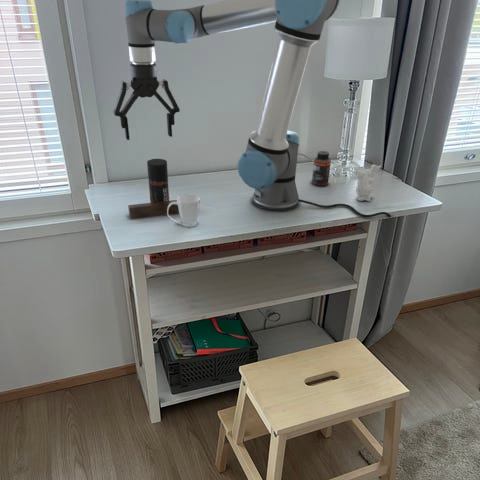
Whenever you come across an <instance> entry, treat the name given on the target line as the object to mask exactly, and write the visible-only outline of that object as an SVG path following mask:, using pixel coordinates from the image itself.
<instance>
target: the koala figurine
mask: <svg viewBox="0 0 480 480" xmlns="http://www.w3.org/2000/svg"><path fill="white" fill-rule="evenodd" d="M381 168H382V165H381V164H380V165H377V164H371V166H370V168H367V169H365V170H357V171H356V178H357V186H356V188H355V189H356V190H355V192H356V195H357V196H358V198H357V199H358V201H360V202H361V201H362V202H363V201H366V202H371V199H372V198H373V196H372V195H371V194H372V192H373V189H374V187H373V186H372V184H373V183H375V181H376V178H377V171H378V170H380V169H381Z"/></svg>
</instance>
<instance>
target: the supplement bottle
mask: <svg viewBox="0 0 480 480" xmlns="http://www.w3.org/2000/svg"><path fill="white" fill-rule="evenodd" d="M329 157H330V152H329V151H327V150H319V151H318V152H317V156H316V157H315V158H314V160H313V169H312V178H311V183H312V184H313V185H314V186H318V187H325V186H327V185H328V184H329V179H330V170H331V163H332V160H331V159H330V158H329Z"/></svg>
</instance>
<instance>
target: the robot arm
mask: <svg viewBox="0 0 480 480" xmlns="http://www.w3.org/2000/svg"><path fill="white" fill-rule="evenodd" d="M339 5H340V0H220V1H217V2H211V3H207V4H202V5H197V6H193V7H187V8H179V9H177V8H176V9H155V8H153V3H152V1H151V0H126V1H125V2H124V12H125V13H124V14H125V17H124V20H125V24H126V25H125V26H126V33H127V41H128V42H127V44H128V55H129V56H128V57H129V62H130V64H129V65H130V78H131V80H130V81H125V80H121V81H120V91H119V94H118V97H117V100H116V102H115V105H114V108H113V111H112V112H113V115H114V116H115V117H119V119H120V126H121V129H124V133H125V139H126V140H127V141H130V140H131V139H130V131H129V130H130V129H129V121H128V117H127V114H128V112H129V111H130V110H131V108H132V107H133V105H134V103H136V100H138V99H139V98H141V99H143V98H152V97H153V96H154V97H155V98H156V99H157V100H158V101H159V102H160V103H161V105H162V106H163V107H164V108H165V110H167V111H168V112H167V113H166V125H167V136H169V137H171V138H172V137H173V127H172V126H174V125H175V115H176V113H180V111H181V109H180V107H179V105H178V103H177V101H176V99H175V98H174V97H175V96H173V93H172V91H171V90H170V88H169V82H168V80H167V79H165V78H163V79H162V80H158V73H157V64H156V63H155V62H156V61H157V55H156V46H155V45H156V44H155V43H156V42H164V43H166V42H167V43H175V44H178V45H179V44H187V43H188V44H189V42H191V40H192V39H197V38H203V37H206V36H210V35H216V34H221V33H226V32H231V31H237V30H243V29H248V28H252V27H258V26H259V27H260V26H264V25H269V24H274V23H275V24H274V31H275V32H276V35H277V41H276V46H275V50H274V54H273V58H272V63H271V67H270V71H269V75H268V80H267V84H266V89H265V92H264V96H263V101H262V103H261V104H262V105H261V109H260V113H259V117H258V122H257V125H256V130H253V131H252V132H251V133H250V134H249V136H248V140H247V145H246V147H245V151H244V152H243V153H242V154H241V155H240V157H239V159H238V162H237V172H238V176H239V177H240V178H241V180H242V182H243V183H244V184H245V185H246V186H248V187H249V188H252V189H254V191H253V193H252V202H253V204H254V205H255V206H257V207H259V208H261V209H264V210H268V211H276V212H277V211H279V212H280V211H281V212H282V211H288V210H292V209H294V208H296V207H297V206H298V205H299V202H300V203H304V204H307V205H312V206H315V207H318V208H325V209H327V208H328V209H330V208H336V207H346V208H348V209H350V210H352V211H353V212H354V213H355V214H356V215H357V216H360V217H364V218H373V217H376V216H379V215H385V216H387V217H388V218H392V215H391V214H390V213H388V212H386V211H379V212H375V213H371V214H364V213H361V212H359V211H358V210H357V209H356V208H354V206H352V205H350V204H346V203H334V204H329V205H325V204H324V205H323V204H319V203H315V202H312V201H307V200H304V199H300V198H299V193H298V188H297V184H296V173H297V163H298V155H299V154H298V153H299V146H300V135H299V134H298V133H297V132H295V131H292V130H289V127H290V123H291V119H292V116H293V113H294V109H295V105H296V102H297V98H298V94H299V91H300V88H301V85H302V81H303V78H304V74H305V70H306V68H307V67H306V66H307V63H308V60H309V55H310V52H311V49H312V46H314V45H315V44H317V43H319V42H320V39H321V35H322V32H323V29H324V25H325V23H326V21H328V20H330V18H332V17H333V15H334V14H335V13H336V11H337V9H338V7H339ZM159 87H161V88H162V89H163V90H164V93H165V95H166V96H167V98H168V100H169V102H170V104H171V106H172V107H173V108H172V107H171V106H170V105H169V104H168V103H167V101H165V99H164V98H163V97H162V96H161V95H160V93H158V91H157V90H158V89H159ZM130 88H132V90H133V91H132V93H131V94H130V97H129V98H128V99H127V100H126V102H125V104H124V106H122V105H123V103H124V100H125V97H126V94H127V91H129V89H130Z"/></svg>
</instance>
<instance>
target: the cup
mask: <svg viewBox="0 0 480 480" xmlns="http://www.w3.org/2000/svg"><path fill="white" fill-rule="evenodd" d="M176 200H177V202H172V203H170V204H169V205H168V208H167V215H166V216H167V218H168V219H169V220H171V221H172V222H174V223H175V224H177V225H181V226H184V227H187V228H193V227H196V225H197V224H198V223H197V221H198V217H199V211H200V204H201V197H199V196H198V195H197V194H189V193H187V194H182V195H179V196H178V197H177V198H176ZM172 204H176V205H178V209H179V213H178V214H179V218H180V220H181V222H180V221H177V220H176V219H174V218H173V217H171V216H170V215H169V214H168V210H169V207H170V206H171V205H172Z"/></svg>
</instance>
